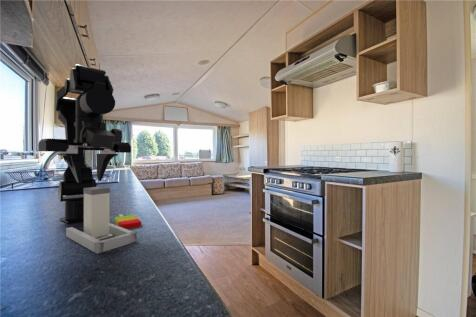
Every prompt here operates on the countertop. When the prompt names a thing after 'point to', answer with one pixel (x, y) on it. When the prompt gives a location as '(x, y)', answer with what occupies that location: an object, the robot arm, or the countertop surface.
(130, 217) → the popsicle
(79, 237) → the frame
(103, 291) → the countertop surface
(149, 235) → the countertop surface
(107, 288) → the countertop surface
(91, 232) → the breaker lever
